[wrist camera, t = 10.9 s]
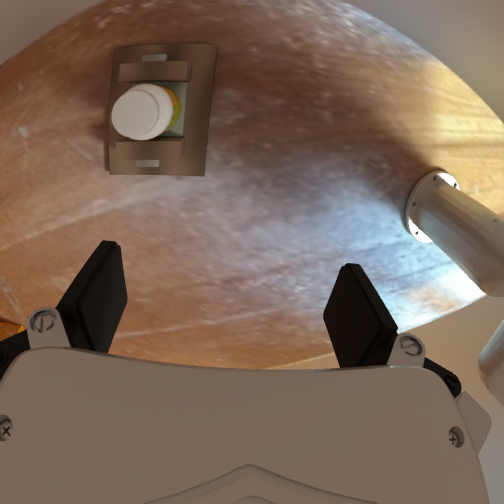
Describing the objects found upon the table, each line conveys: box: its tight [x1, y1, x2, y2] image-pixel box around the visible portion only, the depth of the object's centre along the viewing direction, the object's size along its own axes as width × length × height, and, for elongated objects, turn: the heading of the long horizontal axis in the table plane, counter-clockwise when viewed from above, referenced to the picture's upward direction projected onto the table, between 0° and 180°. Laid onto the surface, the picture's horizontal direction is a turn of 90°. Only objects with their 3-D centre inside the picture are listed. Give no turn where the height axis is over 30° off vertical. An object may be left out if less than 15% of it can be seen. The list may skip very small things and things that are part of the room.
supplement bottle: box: [111, 84, 182, 140], centre depth 22 cm, size 5×5×10 cm
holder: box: [109, 44, 218, 176], centre depth 25 cm, size 12×16×5 cm
